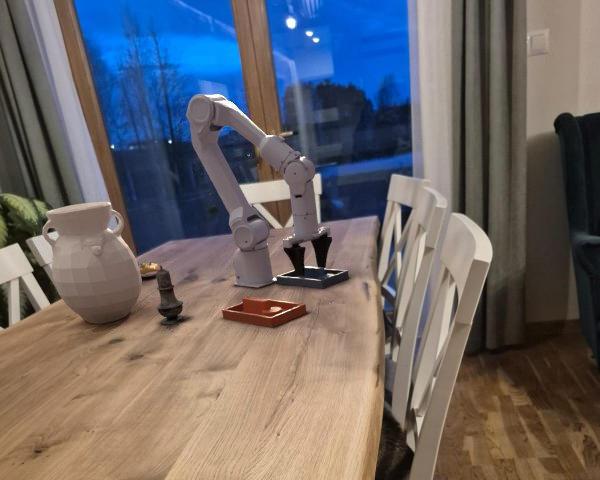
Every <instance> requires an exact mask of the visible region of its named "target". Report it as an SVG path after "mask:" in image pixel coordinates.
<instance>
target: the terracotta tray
mask: <svg viewBox="0 0 600 480" xmlns="http://www.w3.org/2000/svg"><path fill="white" fill-rule="evenodd" d="M254 298H258V297H256V296H255V297H254ZM260 298H261V299H265V298H263V297H260ZM267 299H268V300H270V305H271V307H280V308H281V309H282V313H280V314H277V315H275V316H272V317H268V316H263V315H258V314H253V313H247V312H244V308H243V302H242V301H241V302H239V303H237V304H234V305H231V306H228V307H226V308H223V309H221V313H222V318H223V319H224V320H229V321H235V322H241V323H245V324H252V325H257V326H262V327H266V328H267V327H268V328H275V327H277V326H279V325H282V324H284V323H286V322H289V321H291V320H293V319H296V318H299V317H301V316H303V315H305V314H307V305H306V303H300V302H293V301H286V300H279V299H278V300H277V299H271V298H267Z"/></svg>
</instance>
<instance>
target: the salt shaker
mask: <svg viewBox="0 0 600 480" xmlns="http://www.w3.org/2000/svg"><path fill="white" fill-rule="evenodd" d="M159 268H160V270H159V271H156V273H155V277H156V283H157V288H156V289H157V291H159V296H160V297H159V298H160V303H158V304H157V305H156V306H155V309H157V311H158V313H159V315H160V316H161V317H163V319H162V320H161V321H160V324H161V325H164V326H165V325H175V324H178V323H182V322H184V321H185V320H186V317H185V316H183V315H181V313H182V312H183V307H184V306H183V304H184V301H183V300H178V299H177V297H176V295H175V291H174V287H175V285H174V284H173V283H172V279H171V274H170V271H169V270H167V269H165V268H164V266H162V265H161V264H160V265H159Z"/></svg>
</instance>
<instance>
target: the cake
mask: <svg viewBox="0 0 600 480" xmlns="http://www.w3.org/2000/svg"><path fill="white" fill-rule="evenodd" d="M137 263H138V266H139V268H140V273H141V275H142V277H145V276H146V274H147V273H155V272H156V273H157V271H159V270H160V268H159V267H160V265H159V264H158V263H154V262H149V263H147V262H138V261H137Z"/></svg>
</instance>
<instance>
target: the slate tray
mask: <svg viewBox="0 0 600 480" xmlns="http://www.w3.org/2000/svg"><path fill="white" fill-rule="evenodd" d="M324 272H325V274H334V275H333V276H330V277H327V278H325V279H322V280H317V279H307V278H300V276H298V275H297V274H296V272H295V269H293V270H290V271H287V272H284V273H282V274H279V275H276V277H275V278H277V281H276V283H277V285H285V286H296V287H303V288H304V287H305V288H312V289H322V290H323V289H325V288H328V287H331V286H332V285H333V286H334V285H335V284H338V283H341V282H343V281H346V280H348V279H350V277H349V276H350V275H349V270H348V269H337V268H336V269H334V268H324Z"/></svg>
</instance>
